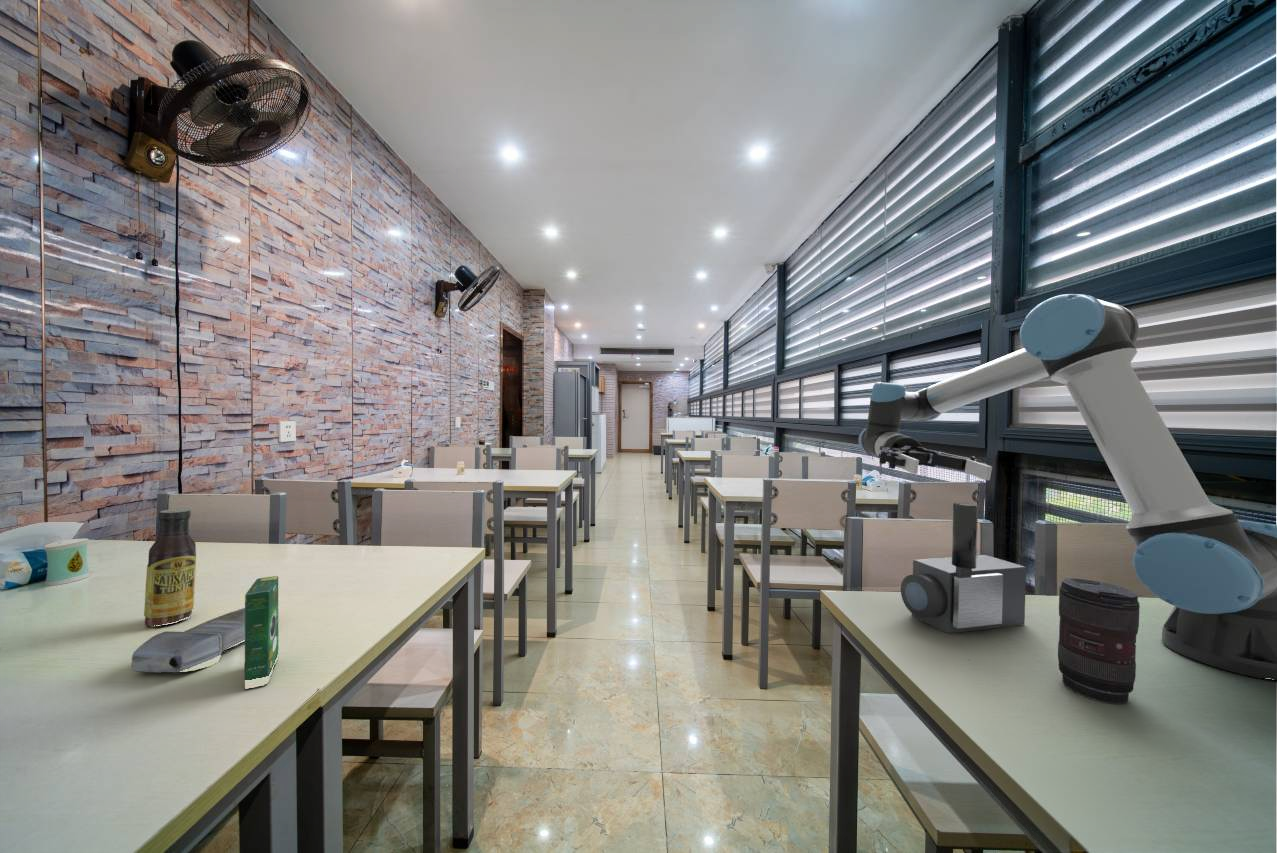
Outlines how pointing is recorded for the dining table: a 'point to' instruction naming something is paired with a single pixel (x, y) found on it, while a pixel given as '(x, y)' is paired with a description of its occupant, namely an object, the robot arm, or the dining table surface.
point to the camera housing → (934, 591)
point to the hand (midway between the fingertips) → (952, 470)
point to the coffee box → (261, 628)
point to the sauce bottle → (171, 570)
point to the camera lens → (1098, 639)
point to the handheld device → (190, 644)
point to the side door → (972, 593)
